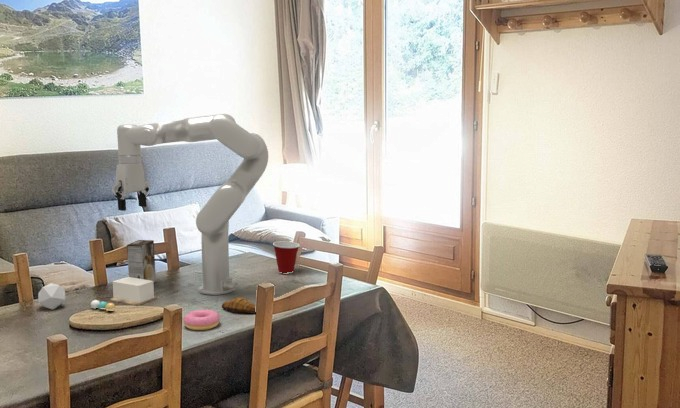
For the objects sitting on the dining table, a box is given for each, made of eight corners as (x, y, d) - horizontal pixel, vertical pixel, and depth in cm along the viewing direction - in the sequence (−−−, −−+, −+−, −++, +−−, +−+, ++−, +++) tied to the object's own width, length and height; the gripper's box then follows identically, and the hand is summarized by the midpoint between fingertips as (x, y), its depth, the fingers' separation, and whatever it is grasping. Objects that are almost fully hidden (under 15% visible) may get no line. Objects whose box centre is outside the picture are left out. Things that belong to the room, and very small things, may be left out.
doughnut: (176, 325, 203) (176, 312, 202) (207, 317, 210) (207, 305, 210) (196, 334, 195) (195, 321, 194) (227, 325, 203) (227, 312, 202)
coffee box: (140, 280, 254) (138, 239, 251) (156, 281, 252) (154, 240, 250) (128, 287, 245) (126, 244, 242) (144, 287, 244) (142, 245, 241)
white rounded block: (154, 297, 230) (153, 280, 229) (139, 303, 223) (138, 285, 223) (128, 293, 235) (127, 276, 234) (113, 298, 229) (112, 281, 228)
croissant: (216, 312, 216) (215, 297, 215) (228, 306, 222) (227, 291, 221) (251, 317, 210) (251, 302, 210) (263, 311, 216) (262, 296, 216)
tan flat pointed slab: (157, 298, 230) (157, 297, 230) (138, 305, 222) (137, 304, 222) (129, 293, 236) (129, 292, 236) (110, 300, 228) (110, 298, 228)
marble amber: (117, 311, 217) (116, 302, 216) (110, 313, 214) (109, 304, 214) (110, 309, 218) (110, 301, 218) (103, 312, 215) (103, 303, 215)
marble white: (102, 308, 220) (102, 299, 219) (95, 310, 217) (94, 301, 217) (96, 306, 221) (95, 298, 221) (88, 309, 219) (88, 300, 218)
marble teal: (110, 309, 218) (109, 300, 218) (102, 312, 216) (102, 303, 215) (103, 308, 220) (102, 299, 219) (96, 310, 217) (95, 302, 216)
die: (71, 308, 221) (69, 282, 226) (54, 303, 214) (52, 275, 218) (50, 316, 223) (49, 289, 227) (32, 310, 215) (31, 283, 219)
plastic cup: (299, 276, 259) (299, 246, 257) (271, 276, 259) (271, 246, 257) (301, 269, 270) (300, 240, 268) (274, 269, 270) (274, 240, 268)
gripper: (140, 157, 241) (142, 204, 244) (103, 161, 226) (105, 211, 229) (155, 158, 238) (157, 205, 240) (119, 162, 223) (121, 212, 225)
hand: (132, 208), depth 235 cm, fingers open, 9 cm apart
